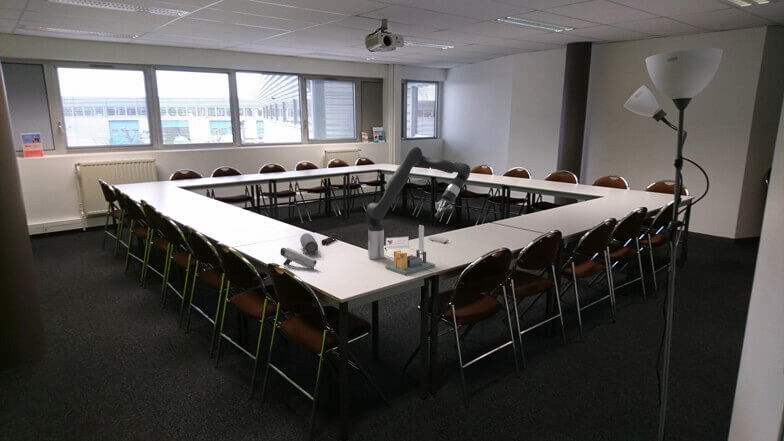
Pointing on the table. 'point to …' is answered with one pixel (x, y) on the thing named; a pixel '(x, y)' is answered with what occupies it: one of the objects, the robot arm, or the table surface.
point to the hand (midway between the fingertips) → (436, 217)
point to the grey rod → (421, 239)
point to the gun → (297, 258)
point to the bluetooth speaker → (309, 243)
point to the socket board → (414, 269)
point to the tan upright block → (400, 260)
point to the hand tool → (329, 239)
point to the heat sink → (413, 261)
